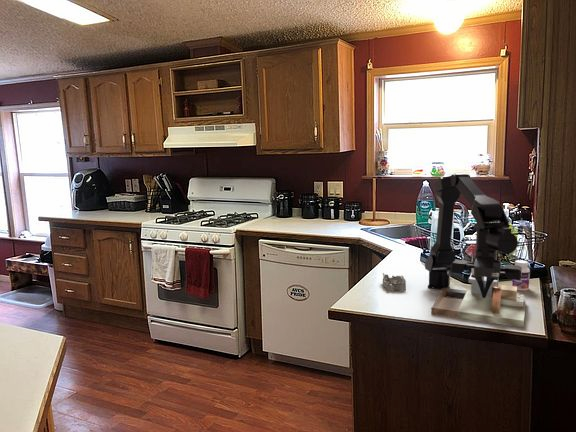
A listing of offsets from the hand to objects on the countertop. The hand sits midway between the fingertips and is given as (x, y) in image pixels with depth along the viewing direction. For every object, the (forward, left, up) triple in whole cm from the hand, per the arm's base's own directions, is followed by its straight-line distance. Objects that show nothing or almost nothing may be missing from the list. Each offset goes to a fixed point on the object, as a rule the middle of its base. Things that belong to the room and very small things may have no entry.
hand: (484, 297), depth 136 cm
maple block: (+6, +11, -4) cm, 13 cm away
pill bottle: (+9, +34, -6) cm, 35 cm away
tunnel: (-1, +12, -4) cm, 12 cm away
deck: (-2, +7, -6) cm, 10 cm away
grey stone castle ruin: (-32, +19, -7) cm, 37 cm away
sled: (+6, +7, -4) cm, 10 cm away
